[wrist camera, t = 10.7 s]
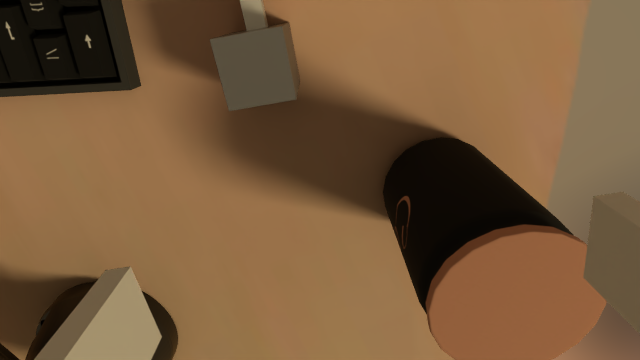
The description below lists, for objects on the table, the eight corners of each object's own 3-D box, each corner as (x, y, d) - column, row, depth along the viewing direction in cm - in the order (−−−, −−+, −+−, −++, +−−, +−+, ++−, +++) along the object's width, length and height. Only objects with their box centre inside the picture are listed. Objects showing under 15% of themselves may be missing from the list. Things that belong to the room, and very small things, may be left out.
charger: (246, 90, 36) (228, 111, 28) (219, -19, 32) (191, -27, 25) (300, 80, 35) (296, 99, 28) (279, -30, 32) (268, -42, 24)
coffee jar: (367, 156, 38) (406, 266, 22) (474, 117, 37) (602, 204, 20) (397, 241, 42) (450, 389, 26) (495, 210, 41) (616, 345, 24)
